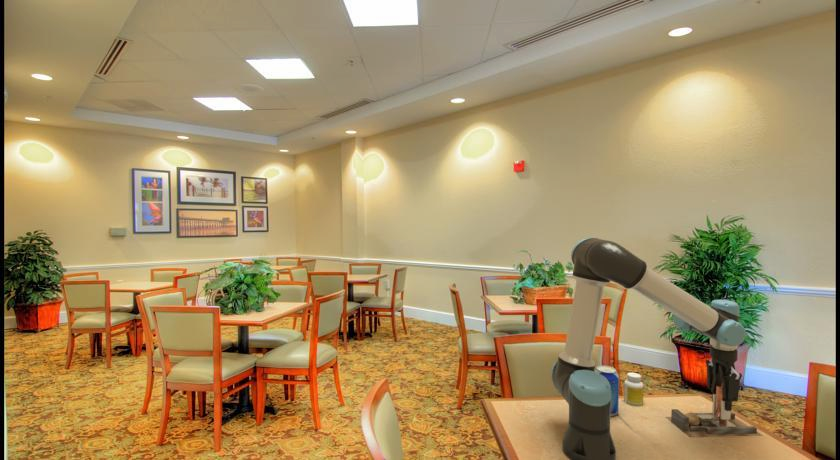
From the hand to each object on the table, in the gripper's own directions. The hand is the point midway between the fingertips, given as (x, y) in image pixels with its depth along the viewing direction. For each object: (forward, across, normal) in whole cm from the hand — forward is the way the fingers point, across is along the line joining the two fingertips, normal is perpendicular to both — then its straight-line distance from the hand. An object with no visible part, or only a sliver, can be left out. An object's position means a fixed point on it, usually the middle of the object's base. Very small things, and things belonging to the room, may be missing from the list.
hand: (721, 415), depth 142 cm
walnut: (+3, 0, +10) cm, 11 cm away
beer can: (+5, +13, +33) cm, 36 cm away
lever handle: (+3, 0, +2) cm, 4 cm away
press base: (+5, 0, +3) cm, 5 cm away
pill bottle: (+5, +18, +20) cm, 27 cm away
